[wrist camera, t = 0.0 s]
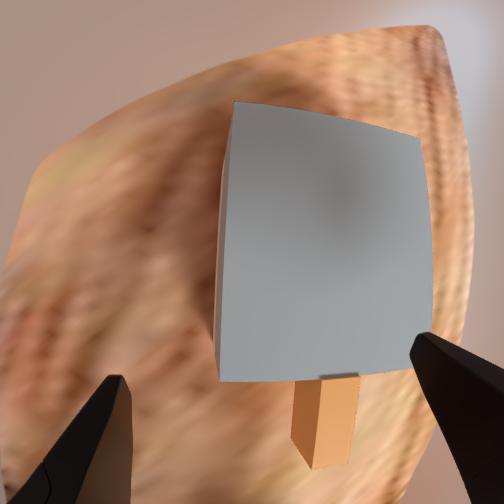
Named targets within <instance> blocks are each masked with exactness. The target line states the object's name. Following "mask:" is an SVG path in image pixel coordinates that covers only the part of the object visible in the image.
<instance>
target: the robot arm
mask: <svg viewBox="0 0 504 504" xmlns="http://www.w3.org/2000/svg"><path fill="white" fill-rule="evenodd" d="M409 356H410V360H411V362H412V365H413V367H414V370H415V372H416V375H417V378H418V380H419V383H420V385H421V388H422V391H423V393H424V395H425V397H426V400H427V402H428V404H429V406H430V408H431V410H432V412H433V414H434V416H435V418H436V420H437V422H438V424H439V427H440V429H441V431H442V433H443V435H444V437H445V440H446V442H447V444H448V446H449V449H450V451H451V453H452V455H453V458H454V460H455V463H456V465H457V467H458V469H459V472H460V475H461V477H462V480H463V482H464V484H465V488H466V490H467V493H468V496H469V498H470V501H471V504H504V369H502V368H500V367H498V366H496V365H494V364H492V363H491V362H489V361H486V360H484V359H483V358H480V357H478V356H477V355H475V354H472V353H471V352H468V351H467V350H465V349H462V348H461V347H459V346H457V345H454V344H452V343H450V342H448V341H446V340H444V339H442V338H440V337H438V336H436V335H434V334H432V333H430V332H423V333H419V334H418V335H417V336H416V337H415V340H414V342H413V345H412V347H411V350H410V353H409ZM132 455H133V433H132V398H131V393H130V391H129V388H128V386H127V384H126V381H125V379H124V377H123V376H122V375H108V376H107V377H106V378H105V379H104V381H103V382H102V383H101V384H100V386H99V387H98V388H97V390H96V391H95V392H94V393H93V395H92V396H91V397H90V398H89V400H88V401H87V402H86V404H85V405H84V406H83V407H82V409H81V410H80V411H79V413H78V414H77V415H76V417H75V418H74V419H73V420H72V422H71V423H70V424H69V426H68V427H67V428H66V430H65V431H64V432H63V434H62V435H61V436H60V438H59V439H58V440H57V442H56V443H55V444H54V446H53V447H52V448H51V450H50V451H49V452H48V454H47V455H46V456H45V458H44V459H43V462H41V463H40V464H39V466H38V467H37V468H36V470H35V471H34V472H33V474H32V475H31V476H30V478H29V479H28V480H27V482H26V483H25V484H24V485H23V486H22V487H21V489H20V490H19V491H18V492H17V493H16V494H15V495H14V497H13V498H12V499H11V500H10V501H9V502H8V503H7V504H130V497H131V472H132Z"/></svg>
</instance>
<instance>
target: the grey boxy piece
mask: <svg viewBox="0 0 504 504" xmlns="http://www.w3.org/2000/svg"><path fill="white" fill-rule="evenodd" d="M432 306H433V252H432V232H431V218H430V207H429V197H428V188H427V180H426V173H425V166H424V160H423V154H422V148H421V143H420V138H417V137H413V136H410V135H407V134H403V133H400V132H397V131H393V130H390V129H386V128H382V127H378V126H375V125H371V124H367V123H363V122H359V121H354V120H350V119H345V118H341V117H336V116H331V115H326V114H321V113H316V112H311V111H305V110H299V109H293V108H287V107H280V106H273V105H265V104H257V103H248V102H238V101H234V107H233V112H232V118H231V123H230V129H229V134H228V140H227V146H226V152H225V165H224V178H223V192H222V207H221V223H220V241H219V259H218V280H217V304H216V332H215V358H216V364H217V369H218V375H219V381H220V382H279V381H295V391H294V404H293V416H292V427H291V439H292V441H293V442H294V444H295V445H296V447H297V449H298V450H299V452H300V453H301V455H302V456H303V458H304V459H305V461H306V462H307V464H308V465H309V467H310V468H311V470H315V469H321V468H327V467H333V466H338V465H343V464H348V461H349V456H350V450H351V445H352V439H353V433H354V426H355V420H356V413H357V405H358V397H359V389H360V380H361V376H360V375H369V374H376V373H384V372H391V371H397V370H403V369H409V368H414V367H413V365H412V362H411V360H410V356H409V353H410V350H411V347H412V345H413V342H414V340H415V337H416V336H417V335H418V334H419V333H423V332H430V333H431V326H432Z"/></svg>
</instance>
